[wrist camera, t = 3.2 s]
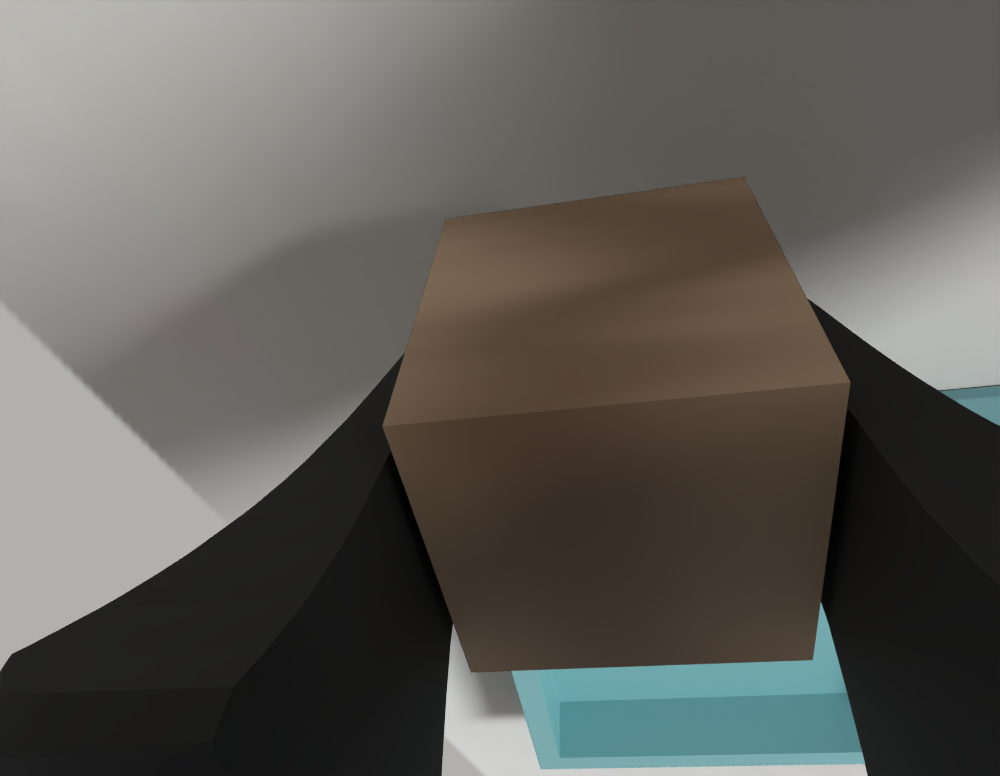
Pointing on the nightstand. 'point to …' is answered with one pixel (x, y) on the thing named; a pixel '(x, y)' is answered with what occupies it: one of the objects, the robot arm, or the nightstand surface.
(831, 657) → the teal tray
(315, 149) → the nightstand surface
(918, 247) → the nightstand surface
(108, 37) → the nightstand surface
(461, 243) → the walnut block
